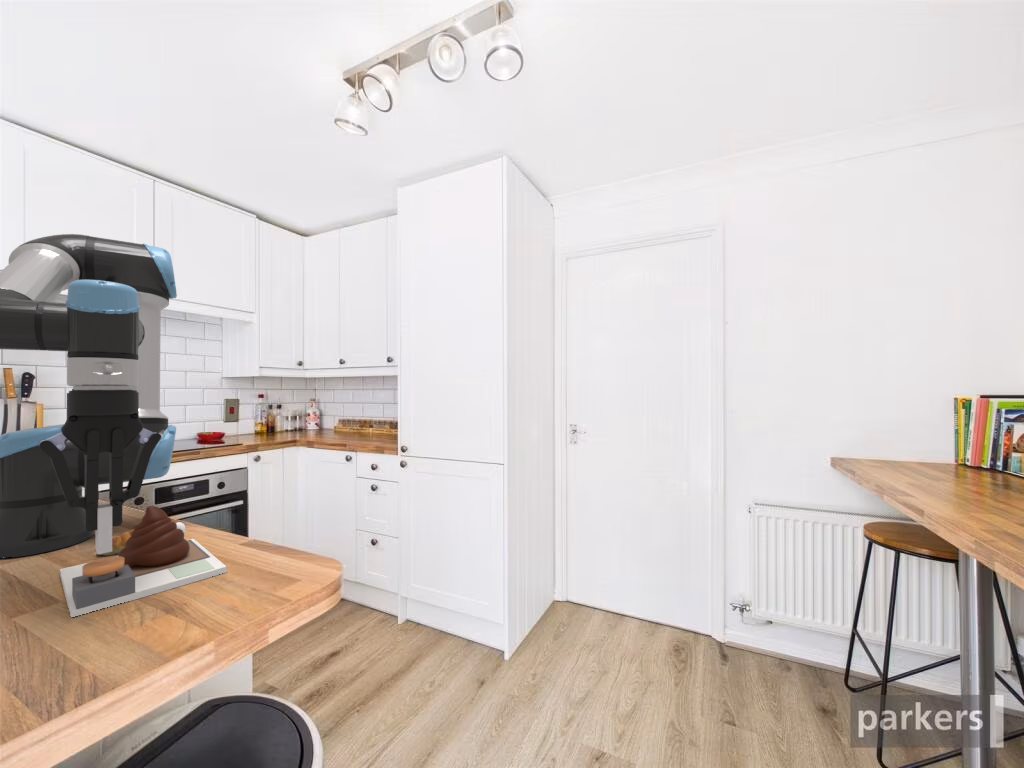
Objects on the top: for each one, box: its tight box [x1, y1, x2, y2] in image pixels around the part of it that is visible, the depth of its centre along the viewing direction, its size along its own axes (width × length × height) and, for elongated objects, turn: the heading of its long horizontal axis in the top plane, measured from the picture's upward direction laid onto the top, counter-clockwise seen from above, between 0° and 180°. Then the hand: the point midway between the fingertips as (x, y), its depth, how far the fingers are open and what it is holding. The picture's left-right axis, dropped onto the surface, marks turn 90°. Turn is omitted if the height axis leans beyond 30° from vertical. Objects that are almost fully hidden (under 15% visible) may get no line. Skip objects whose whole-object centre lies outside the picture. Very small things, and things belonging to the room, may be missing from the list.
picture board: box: [59, 538, 227, 618], centre depth 70 cm, size 20×18×4 cm
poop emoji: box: [117, 505, 190, 567], centre depth 73 cm, size 10×8×9 cm
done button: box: [82, 555, 125, 583], centre depth 61 cm, size 4×4×3 cm
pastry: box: [100, 528, 134, 557], centre depth 81 cm, size 9×7×4 cm
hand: (103, 550), depth 61 cm, fingers closed
